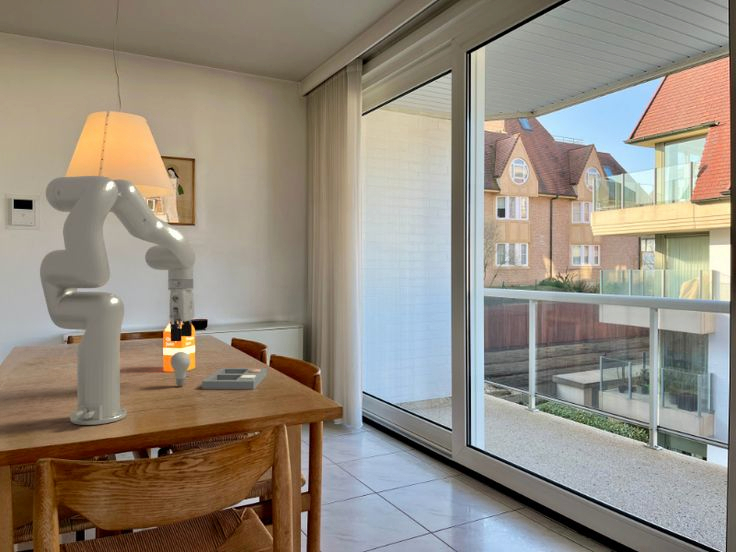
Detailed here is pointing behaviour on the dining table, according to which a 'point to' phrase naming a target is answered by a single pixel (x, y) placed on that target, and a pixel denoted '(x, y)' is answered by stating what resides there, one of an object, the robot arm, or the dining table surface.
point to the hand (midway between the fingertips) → (181, 338)
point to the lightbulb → (180, 366)
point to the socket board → (235, 378)
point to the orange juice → (177, 348)
